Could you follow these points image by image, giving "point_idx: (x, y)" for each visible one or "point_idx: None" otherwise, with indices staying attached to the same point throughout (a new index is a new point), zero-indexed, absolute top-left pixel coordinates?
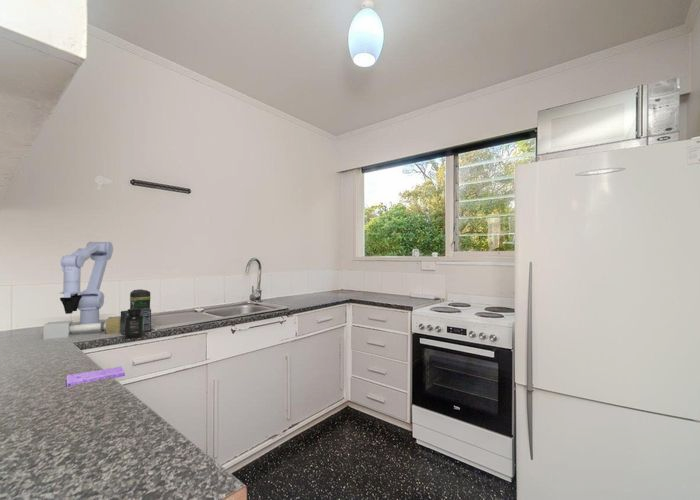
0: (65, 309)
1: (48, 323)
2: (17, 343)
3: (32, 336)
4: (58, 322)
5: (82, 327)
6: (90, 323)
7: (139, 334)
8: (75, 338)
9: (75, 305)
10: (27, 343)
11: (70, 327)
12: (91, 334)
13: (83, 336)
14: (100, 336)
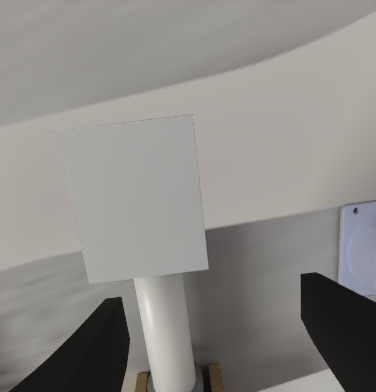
0: (79, 336)
1: (119, 140)
2: (30, 15)
3: (242, 7)
4: (143, 201)
5: (140, 314)
6: (365, 277)
7: None
8: (76, 278)
9: (341, 364)
10: (13, 80)
11: None
12: None
13: None
14: None
